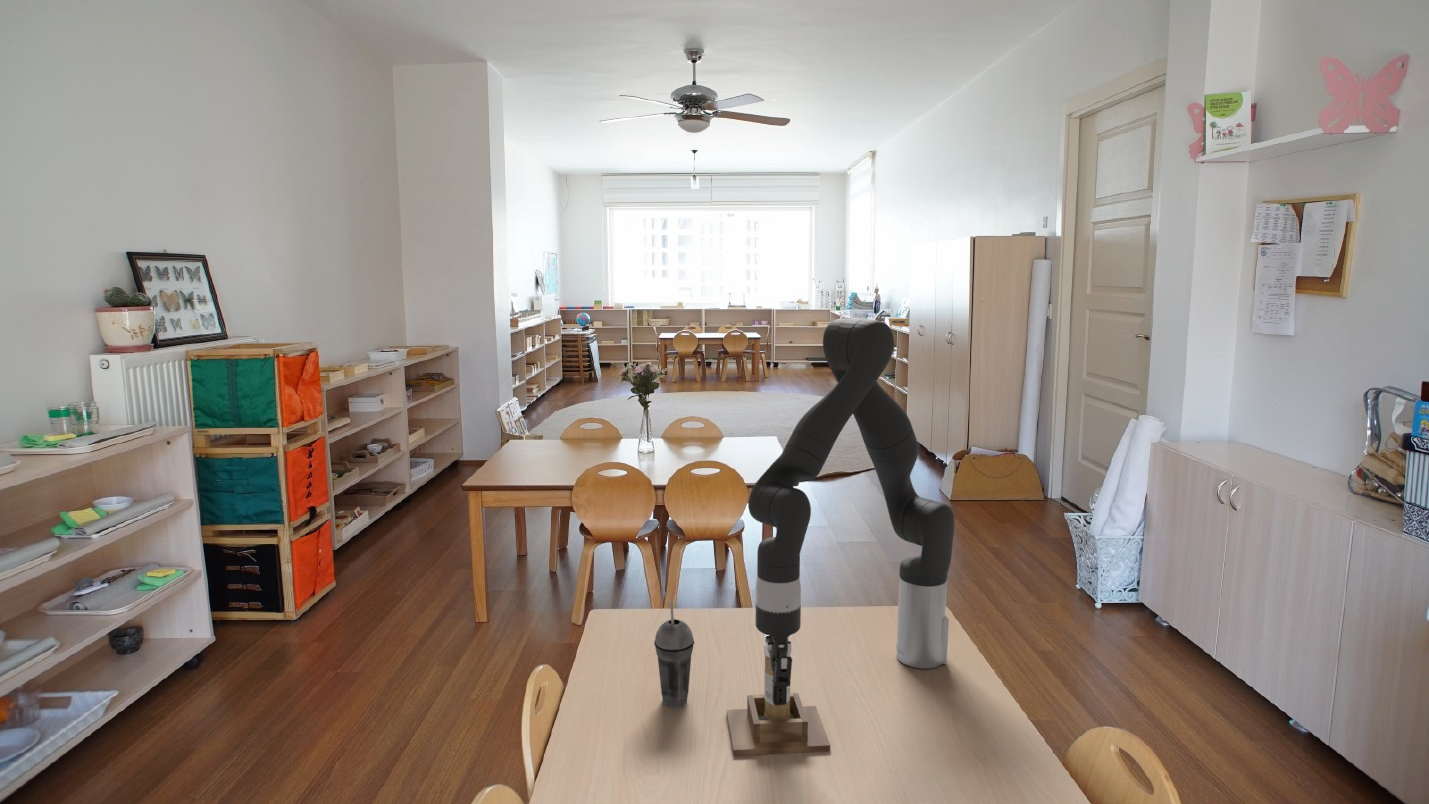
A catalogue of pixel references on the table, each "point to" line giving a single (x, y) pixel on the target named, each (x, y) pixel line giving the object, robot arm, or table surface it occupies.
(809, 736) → the wooden square holder
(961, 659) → the table surface
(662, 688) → the beverage cup
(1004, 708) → the table surface
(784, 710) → the sprinkles bottle
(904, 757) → the table surface
